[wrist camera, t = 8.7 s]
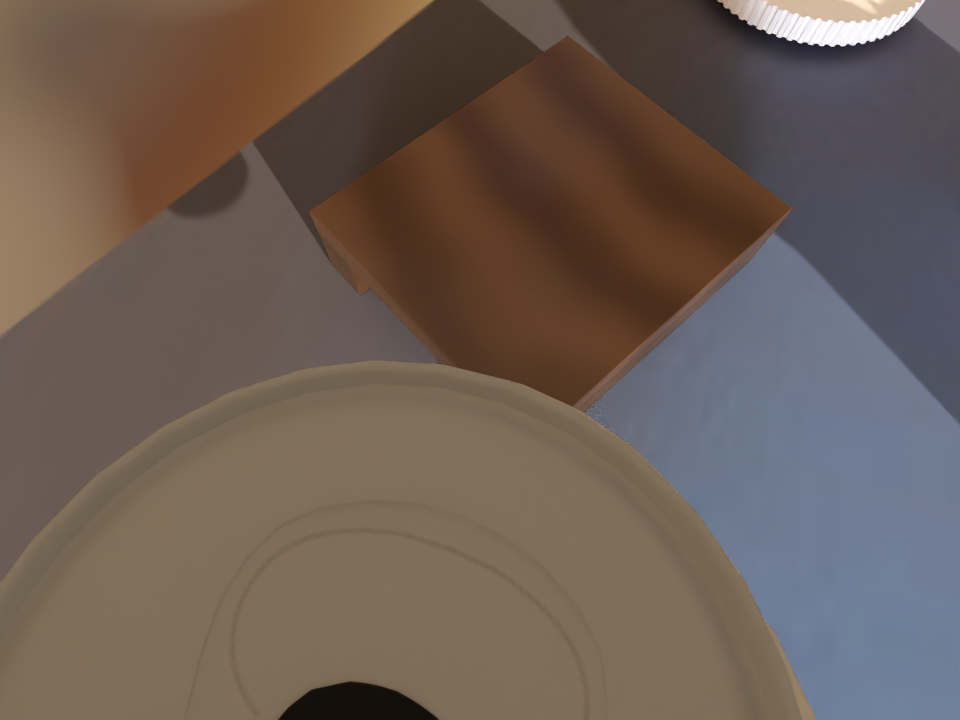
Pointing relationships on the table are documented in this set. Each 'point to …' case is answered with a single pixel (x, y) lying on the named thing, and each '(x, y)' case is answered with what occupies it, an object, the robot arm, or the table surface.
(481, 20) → the table surface
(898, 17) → the plastic lid
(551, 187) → the platform
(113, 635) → the energy drink can
